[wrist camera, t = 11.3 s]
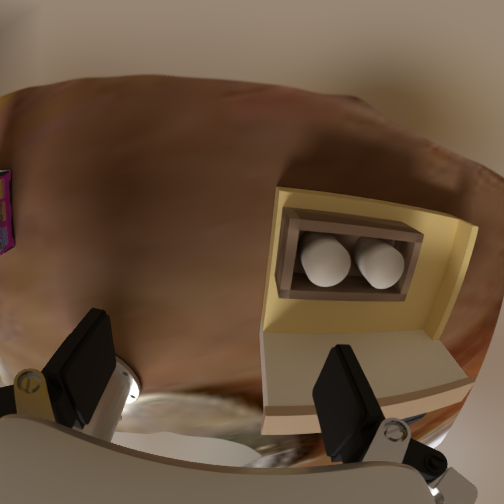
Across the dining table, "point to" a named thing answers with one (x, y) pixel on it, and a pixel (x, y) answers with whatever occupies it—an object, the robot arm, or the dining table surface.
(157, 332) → the dining table surface
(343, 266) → the caddy
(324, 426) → the robot arm
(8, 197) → the candy bar box
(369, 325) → the counter shelf
